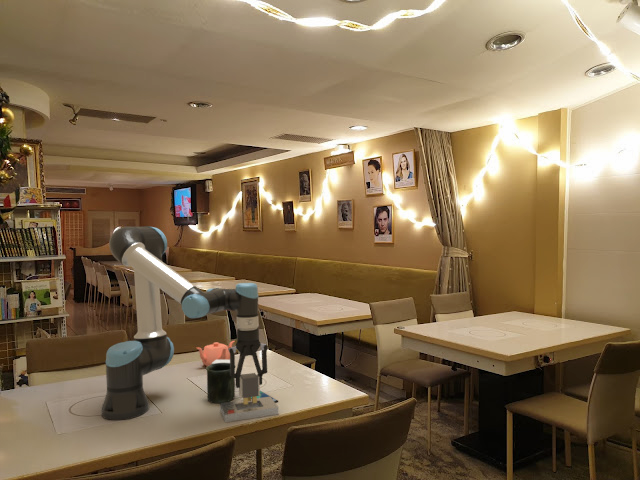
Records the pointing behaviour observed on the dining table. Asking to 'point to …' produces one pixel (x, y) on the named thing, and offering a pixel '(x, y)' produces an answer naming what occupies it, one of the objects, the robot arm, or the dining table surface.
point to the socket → (248, 409)
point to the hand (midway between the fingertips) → (249, 395)
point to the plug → (249, 387)
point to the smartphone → (265, 396)
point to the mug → (220, 383)
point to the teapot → (214, 353)
